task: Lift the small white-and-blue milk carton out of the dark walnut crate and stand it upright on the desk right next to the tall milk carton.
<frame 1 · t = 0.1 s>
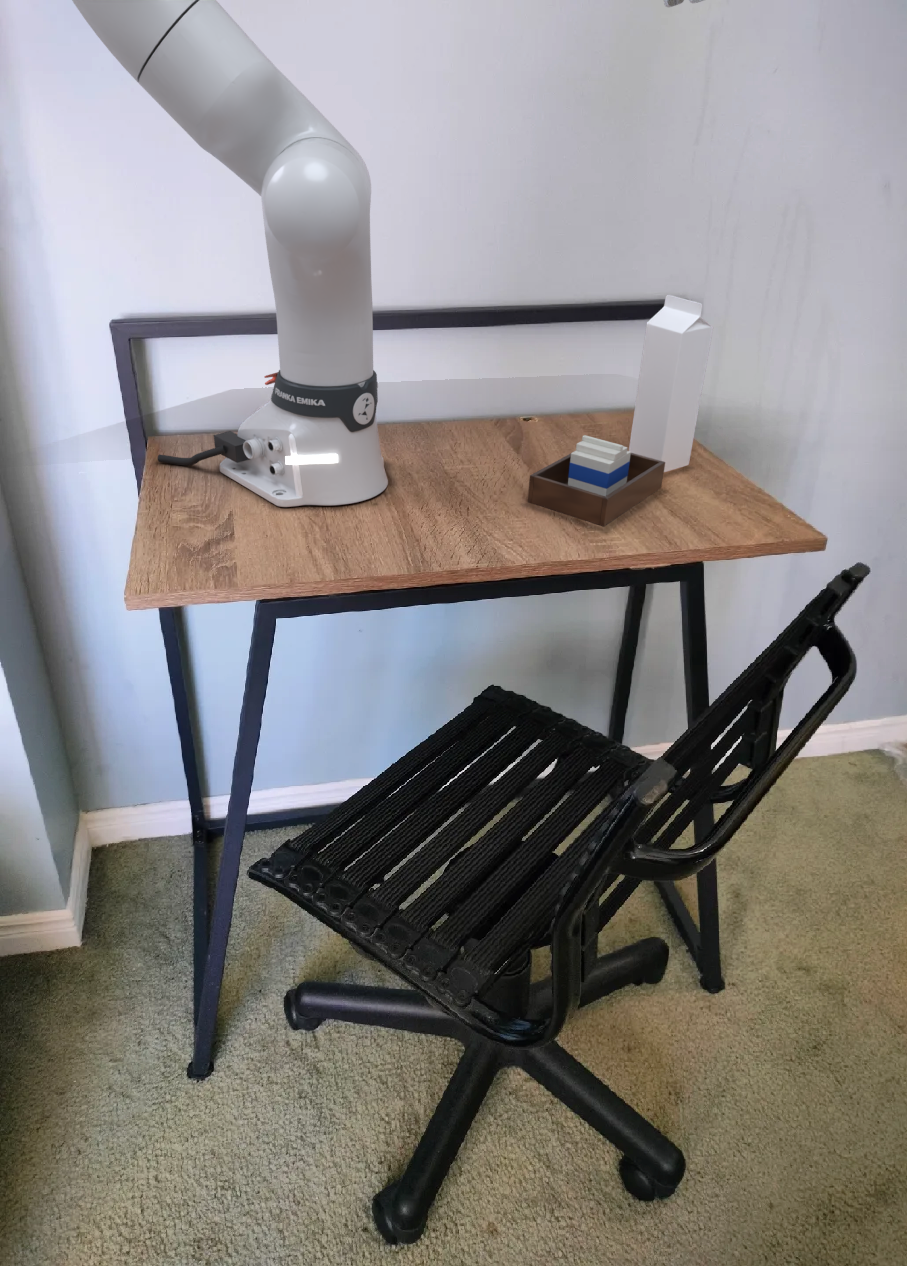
hand: (687, 3, 92), 52 cm above the table, tool tilted 20°, fingers open, 8 cm apart
milk: (657, 466, 126), on the table
crate: (595, 498, 116), on the table
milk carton: (595, 494, 116), resting on crate
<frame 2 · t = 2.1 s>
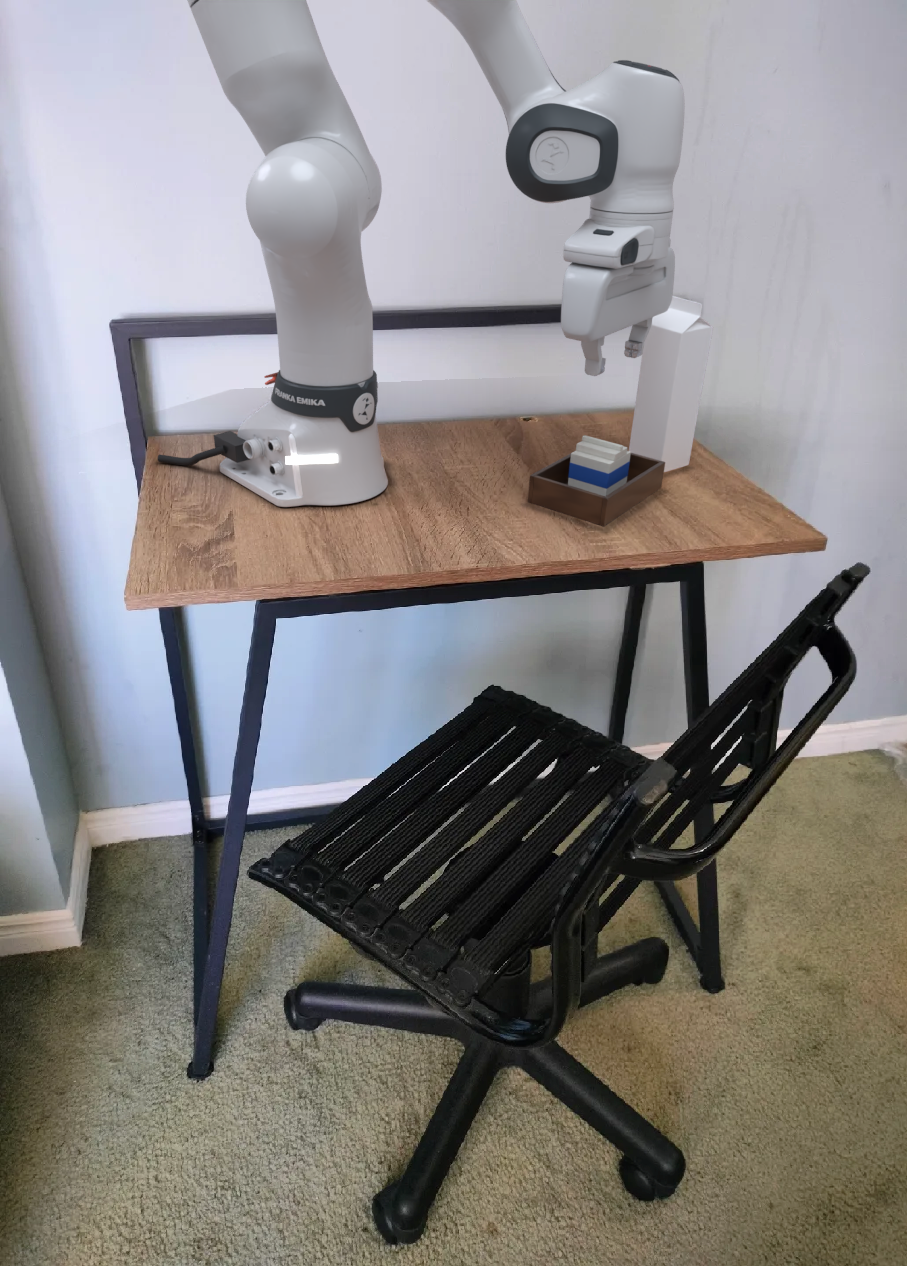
hand: (614, 365, 107), 17 cm above the table, tool pointing down, fingers open, 8 cm apart
nothing on the table moved.
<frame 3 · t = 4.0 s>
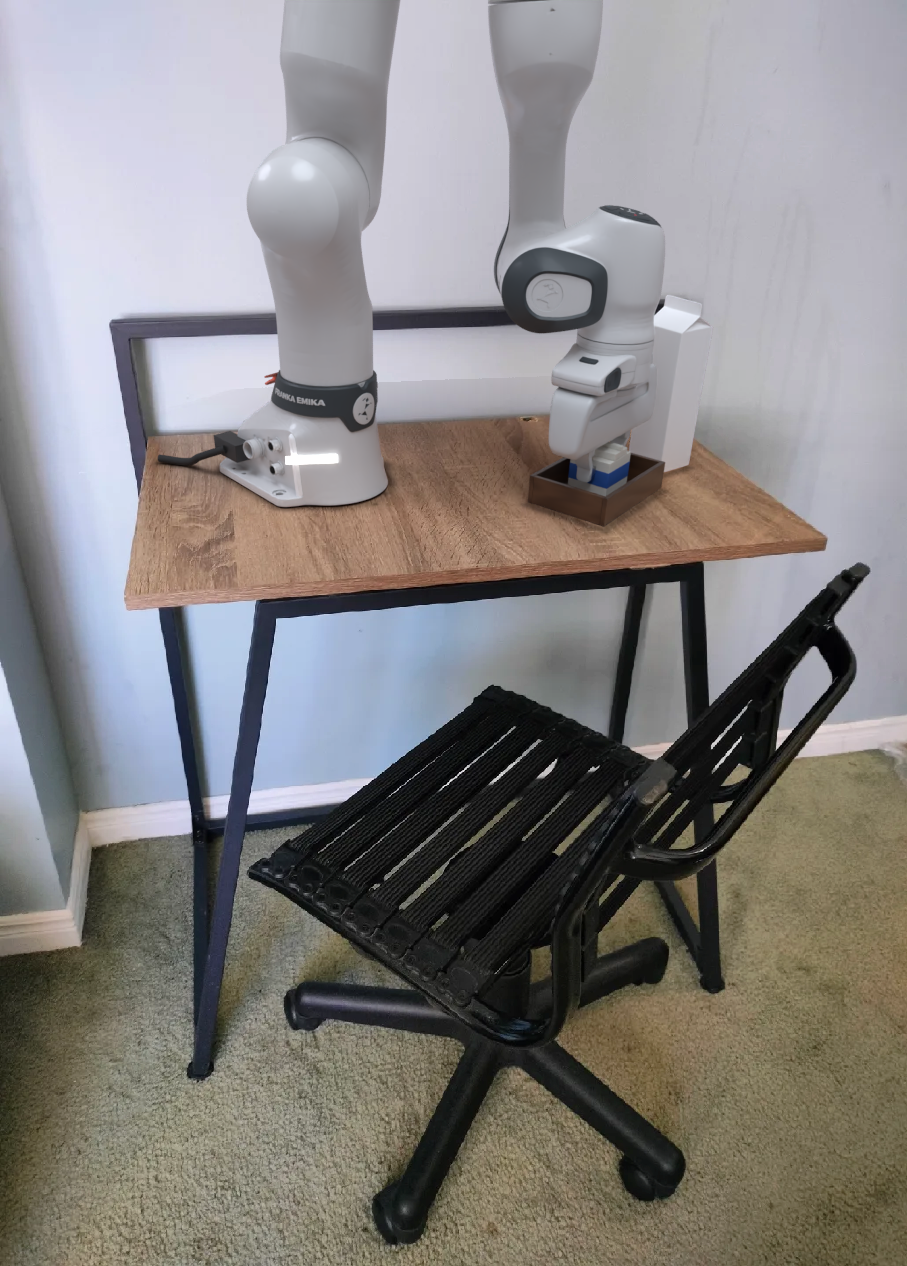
hand: (598, 471, 114), 4 cm above the table, tool pointing down, fingers closed on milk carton, 5 cm apart
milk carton: (595, 494, 116), resting on crate, touching gripper
everything else where it was.
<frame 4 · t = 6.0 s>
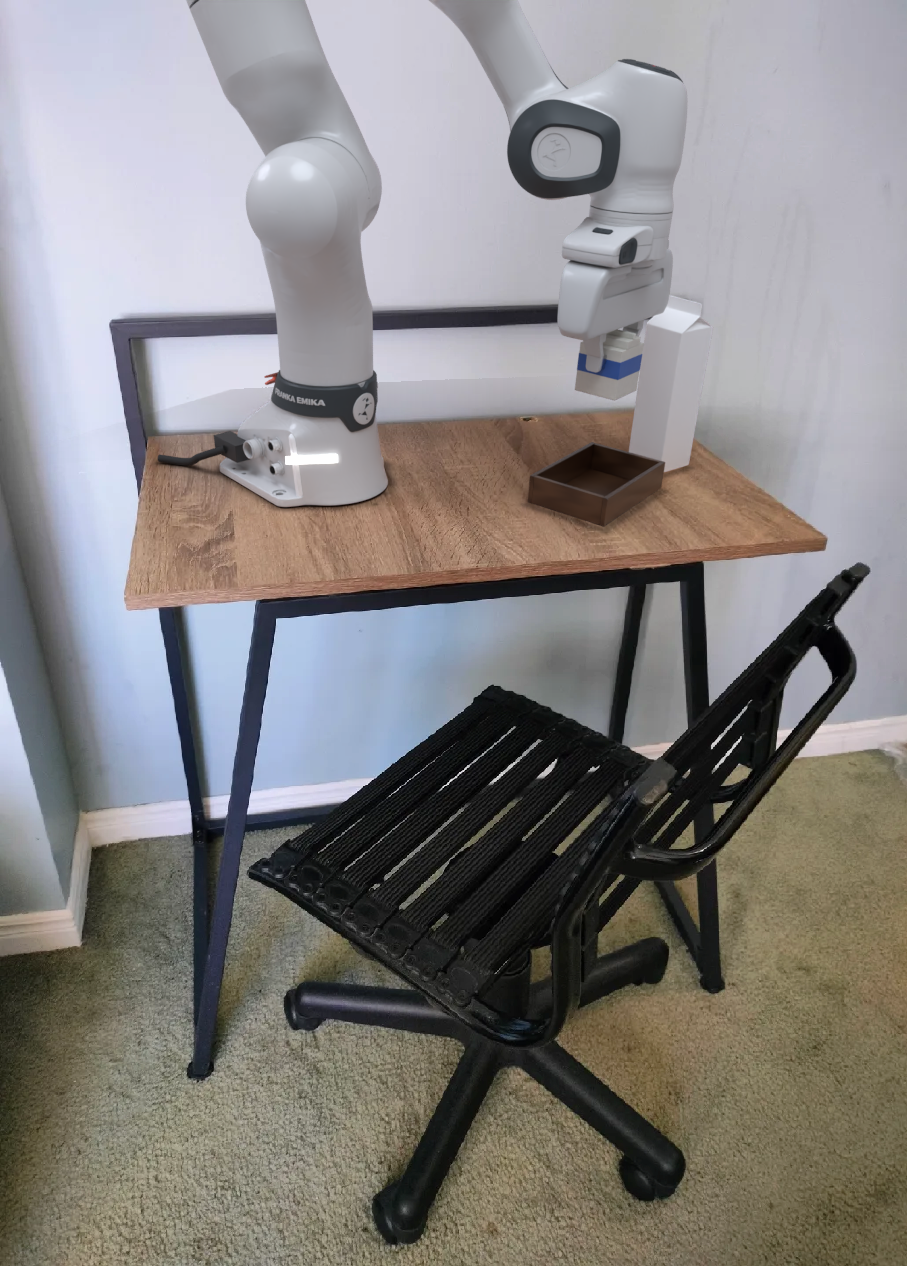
hand: (609, 364, 107), 17 cm above the table, tool pointing down, fingers closed on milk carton, 5 cm apart
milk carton: (605, 390, 109), point 14 cm above the table, touching gripper
everything else where it was.
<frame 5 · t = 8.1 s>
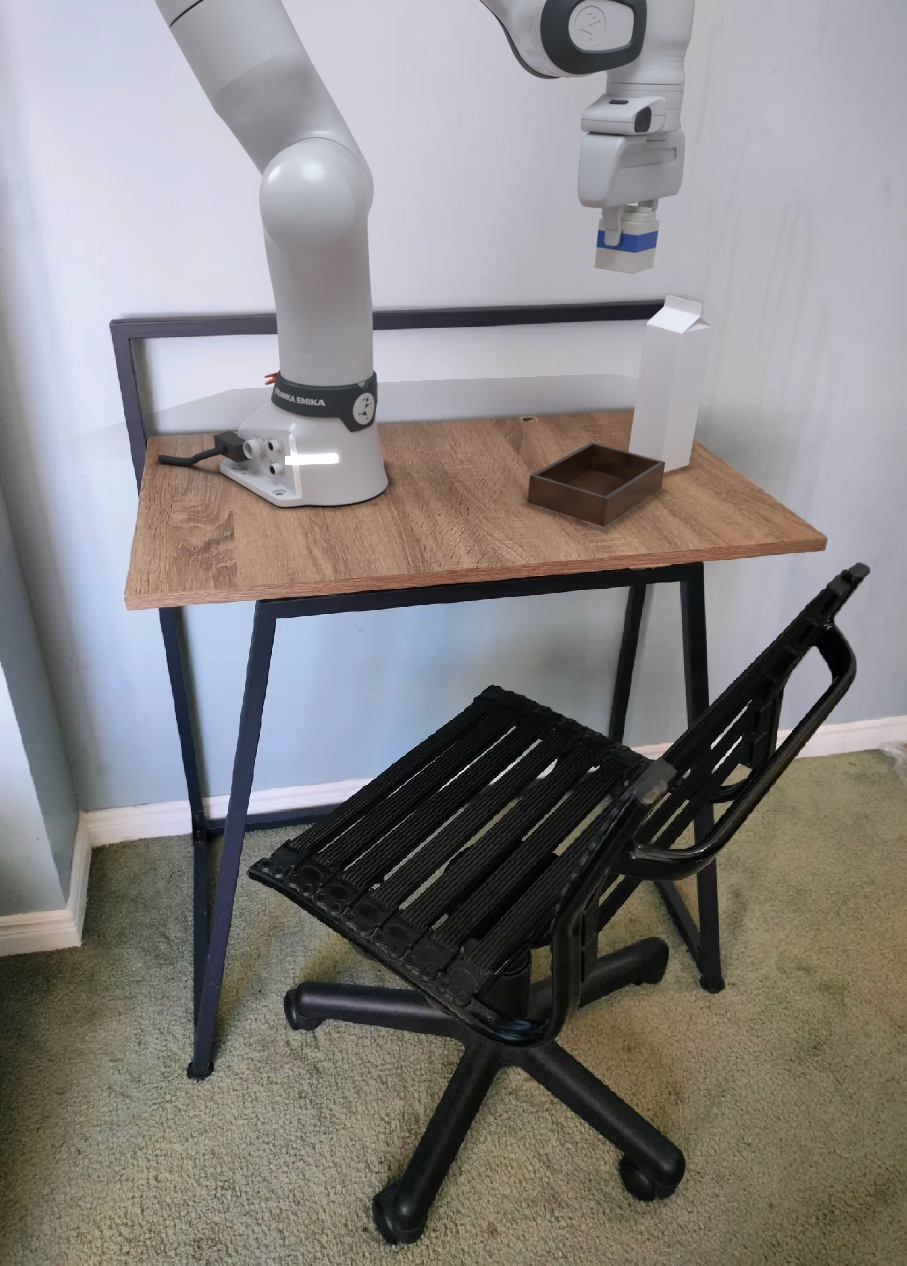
hand: (626, 241, 113), 28 cm above the table, tool pointing down, fingers closed on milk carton, 5 cm apart
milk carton: (623, 267, 115), point 25 cm above the table, touching gripper
everything else where it was.
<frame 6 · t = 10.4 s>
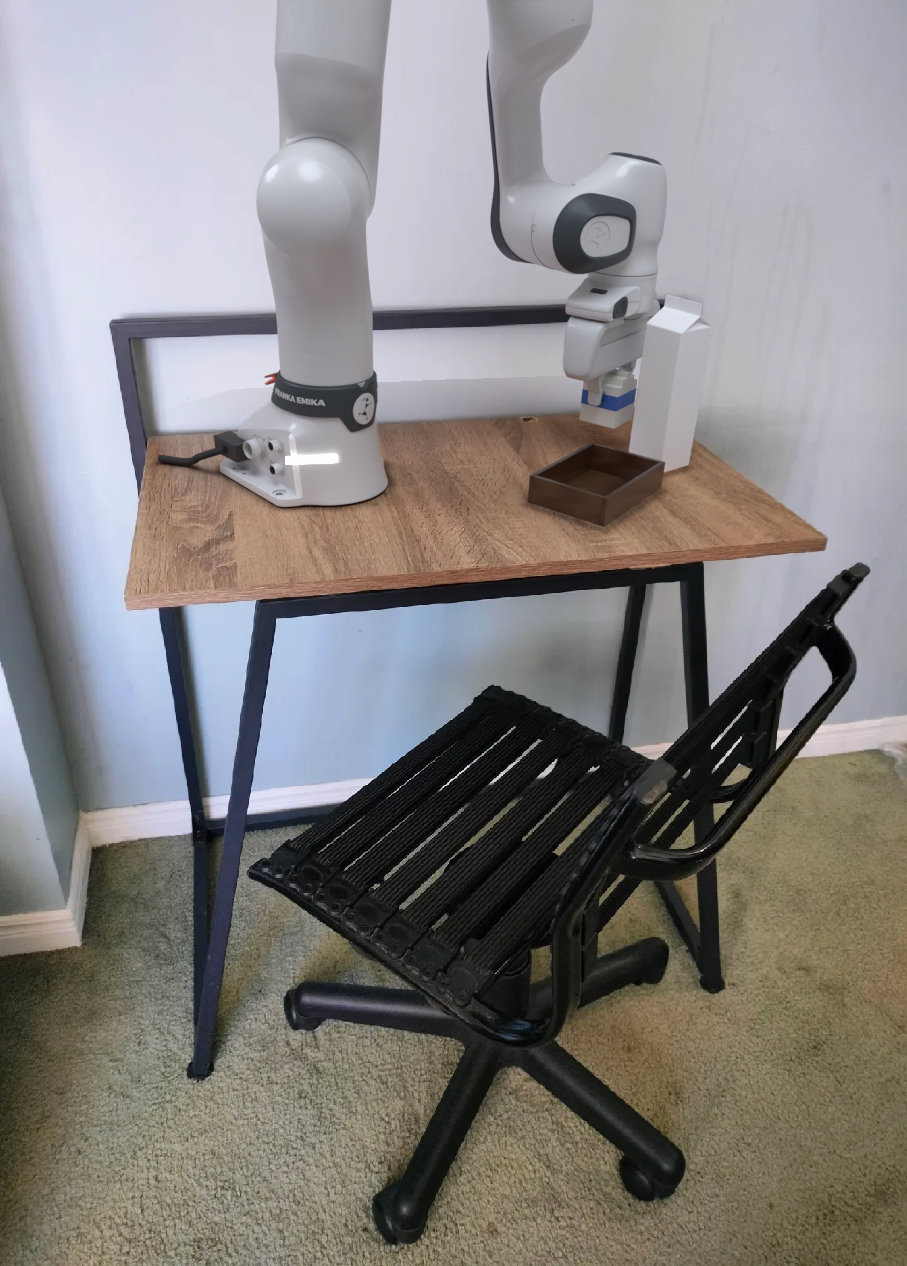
hand: (607, 398, 127), 7 cm above the table, tool pointing down, fingers closed on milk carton, 5 cm apart
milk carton: (605, 419, 128), point 4 cm above the table, touching gripper
everything else where it was.
when the fingers open (3 cm above the table, at t = 12.1 s): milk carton stays where it is, on the table.
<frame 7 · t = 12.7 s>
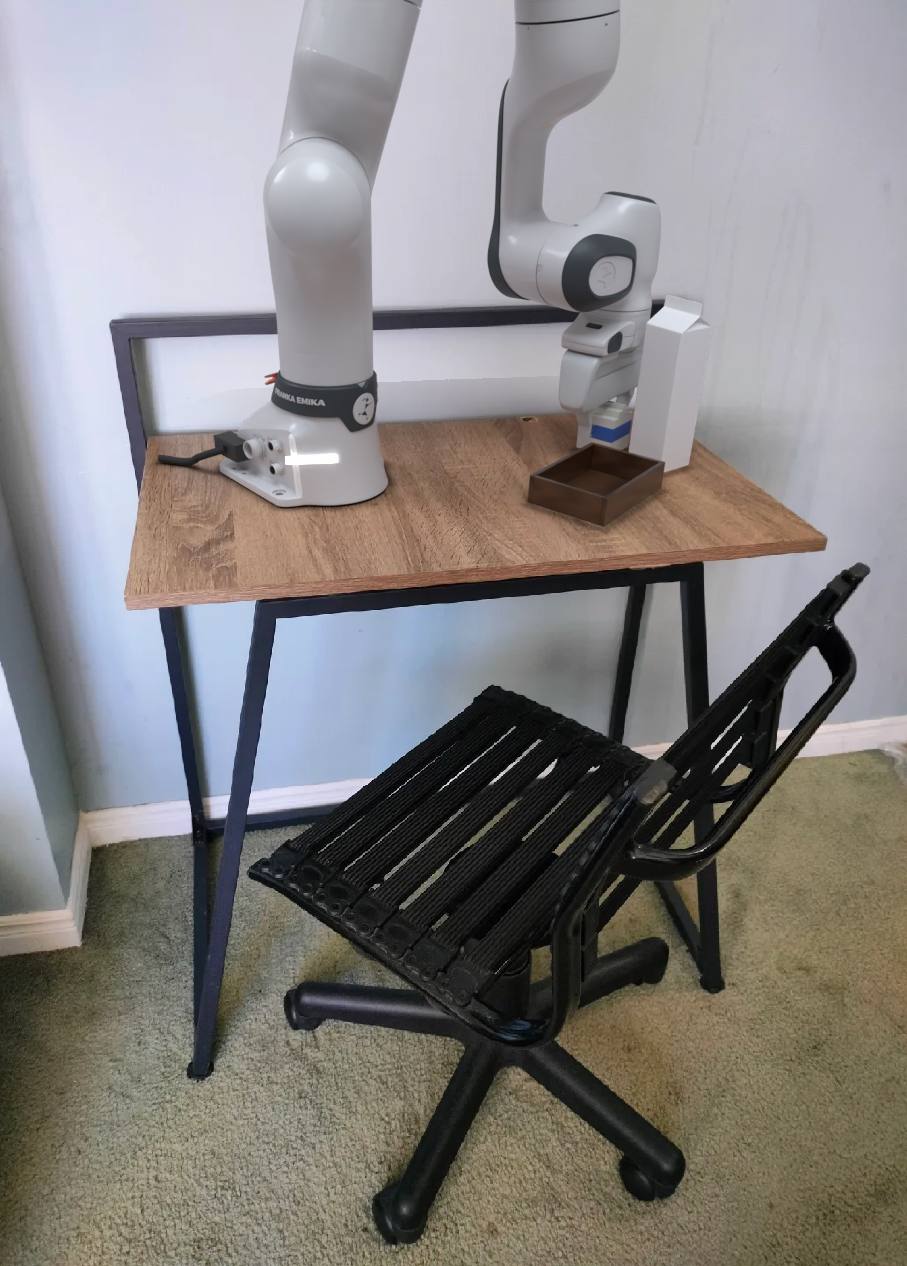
hand: (602, 427, 129), 3 cm above the table, tool pointing down, fingers open, 8 cm apart
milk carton: (601, 449, 130), on the table
everything else where it was.
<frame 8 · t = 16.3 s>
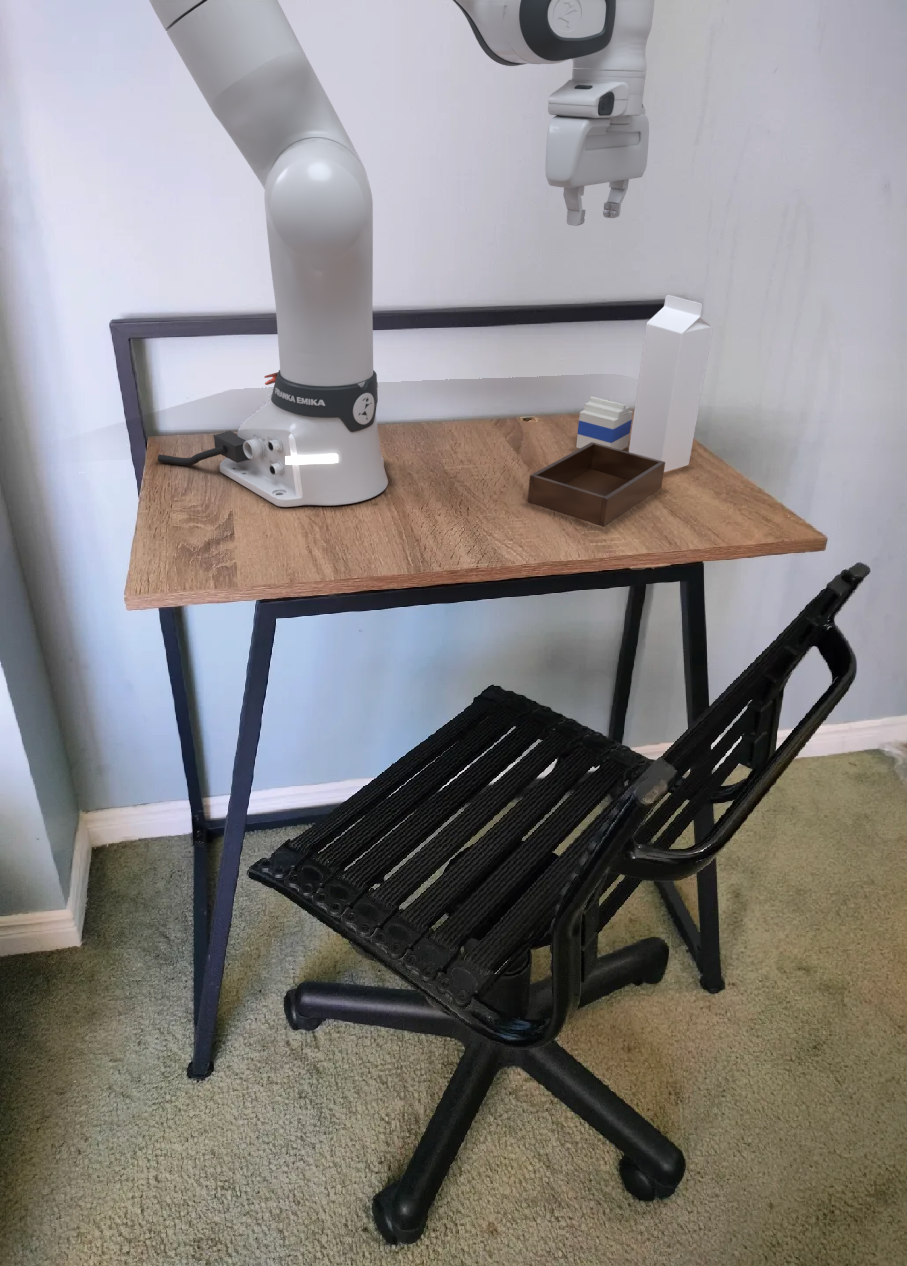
hand: (593, 220, 119), 29 cm above the table, tool pointing down, fingers open, 8 cm apart
nothing on the table moved.
at the end: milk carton inside the target area (0.3 cm from its centre), on the table; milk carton 8.7 cm from the milk (horizontally); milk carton tilted 0° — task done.
